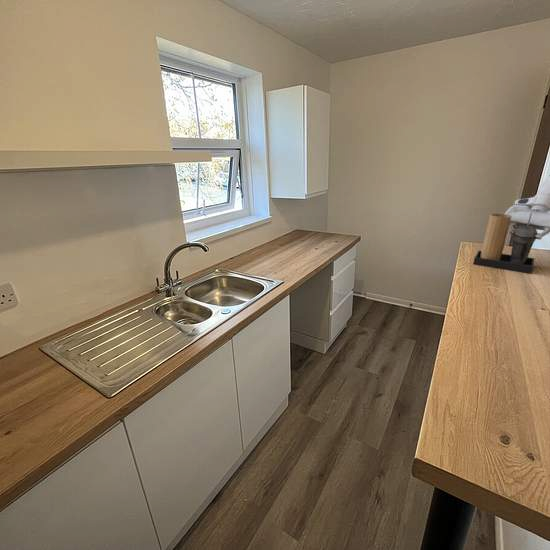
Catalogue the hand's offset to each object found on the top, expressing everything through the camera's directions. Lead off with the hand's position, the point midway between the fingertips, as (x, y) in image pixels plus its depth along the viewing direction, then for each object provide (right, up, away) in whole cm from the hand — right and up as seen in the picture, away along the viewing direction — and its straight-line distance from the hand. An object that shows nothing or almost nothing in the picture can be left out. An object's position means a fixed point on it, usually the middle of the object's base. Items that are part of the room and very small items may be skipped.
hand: (524, 236), depth 116 cm
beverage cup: (+1, -11, +5) cm, 12 cm away
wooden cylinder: (-6, -10, +11) cm, 16 cm away
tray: (-2, -11, +8) cm, 14 cm away
